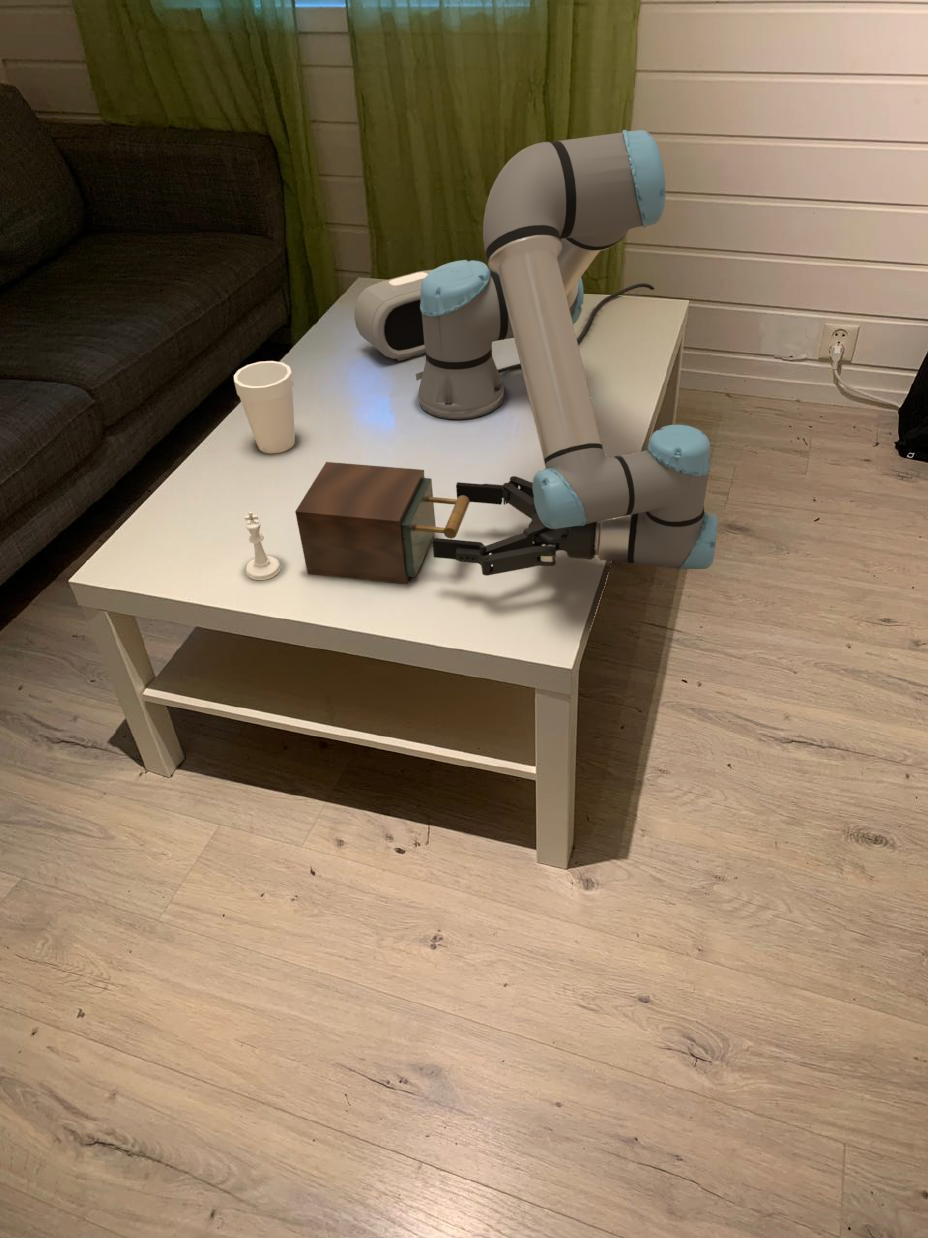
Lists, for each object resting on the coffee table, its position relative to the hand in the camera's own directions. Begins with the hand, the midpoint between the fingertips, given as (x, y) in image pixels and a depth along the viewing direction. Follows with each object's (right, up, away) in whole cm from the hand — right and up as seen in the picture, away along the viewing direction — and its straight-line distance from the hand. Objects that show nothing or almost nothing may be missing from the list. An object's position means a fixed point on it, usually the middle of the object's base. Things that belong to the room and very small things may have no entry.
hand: (445, 518), depth 140 cm
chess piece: (-26, -7, +6) cm, 28 cm away
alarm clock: (-7, +40, +58) cm, 71 cm away
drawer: (-7, -4, +6) cm, 10 cm away
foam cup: (-29, +16, +32) cm, 47 cm away
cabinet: (-11, -4, +7) cm, 14 cm away
